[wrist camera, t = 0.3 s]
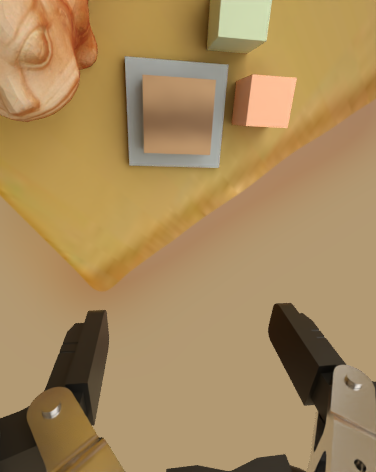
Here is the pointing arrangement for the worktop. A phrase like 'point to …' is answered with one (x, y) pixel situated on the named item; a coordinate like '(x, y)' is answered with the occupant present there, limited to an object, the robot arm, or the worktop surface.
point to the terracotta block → (263, 101)
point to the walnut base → (178, 114)
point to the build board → (135, 109)
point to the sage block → (237, 25)
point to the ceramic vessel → (42, 55)
